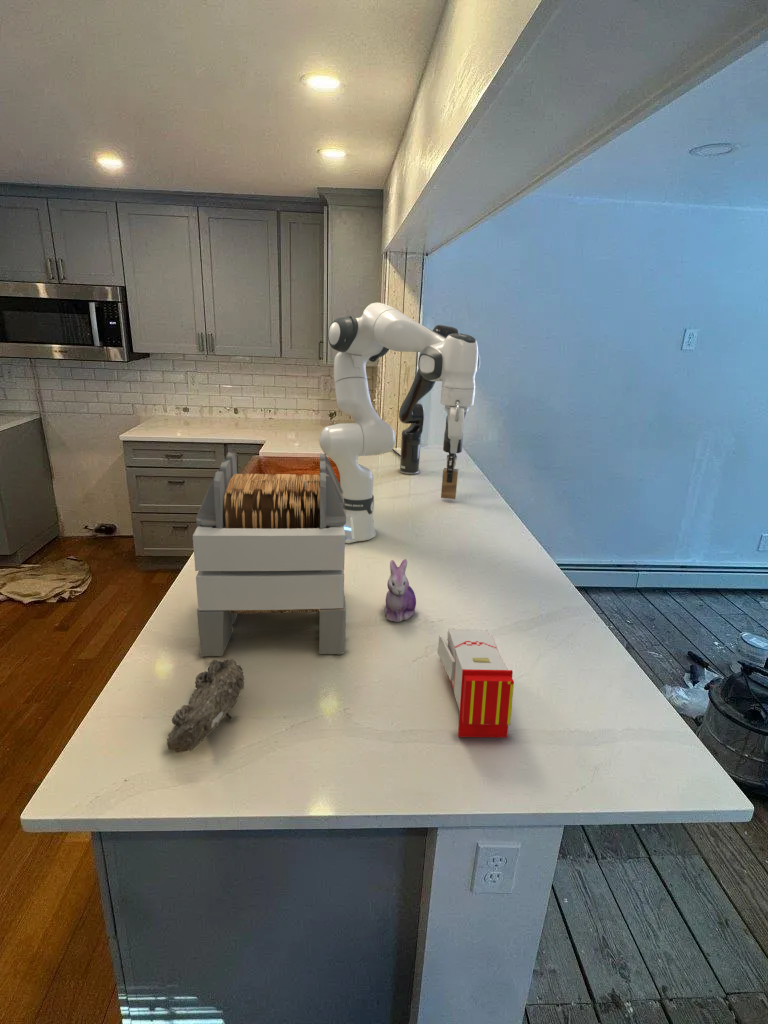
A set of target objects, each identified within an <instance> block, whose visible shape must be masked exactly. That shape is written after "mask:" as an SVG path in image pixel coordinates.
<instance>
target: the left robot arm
mask: <svg viewBox="0 0 768 1024" xmlns="http://www.w3.org/2000/svg"><path fill="white" fill-rule="evenodd" d="M327 340H328V344H329V346H330V347H331V348H332V349H333V350H334V351H336V352H337V353H336V355H335V356H334V358H333V361H334V362H333V382H334V391H335V399H336V406H337V407H338V409H339V410H340V411H341V412H342V413H344V414H346V415H348V416H349V417H351V418H352V419H353V421H354V422H348V423H346V422H344V423H343V422H342V423H334V424H331V425H327V426H324V427H323V428H322V430H321V432H320V434H319V439H318V441H319V446H320V449H321V451H322V452H323V454H326V456H327V458H330V459H331V460H332V462H334V464H335V465H336V467H337V470H338V473H339V484H340V486H341V489H342V491H343V496H344V503H345V511H346V523H345V524H344V530H345V544H352V543H357V542H365V541H368V540H372V539H373V538H375V537H376V535H377V532H376V528H375V523H374V513H373V512H374V509H375V496H374V474H373V472H372V471H371V469H369V468H368V467H366V466H364V465H362V464H359V462H358V459H359V457H371V456H380V455H385V454H388V453H390V452H391V451H393V450H392V449H394V447H395V445H396V432H395V430H394V428H393V427H392V426H391V425H390V424H389V423H387V422H386V421H385V420H383V419H382V417H380V415H379V414H378V413H377V411H376V410H375V408H374V405H373V404H372V400H371V395H370V389H369V388H370V387H369V382H368V381H369V380H368V374H367V363H368V361H370V362H371V363H375V362H376V361H378V360H379V358H382V357H384V356H385V355H386V354H387V353H388V352H389V351H393V352H403V353H419V355H418V361H417V366H418V368H417V369H419V371H420V374H421V375H422V377H423V378H424V379H426V380H429V381H436V382H442V383H441V392H440V404H441V405H442V406H444V411H446V414H447V415H446V417H447V418H448V438H449V439H450V445H451V446H450V453H454V454H456V455H457V454H458V453H457V447H458V442H459V440H461V439H462V436H463V437H464V426H465V425H464V424H465V418H464V412H466V413H468V412H469V407H473V406H474V405H475V396H476V395H475V394H476V381H475V379H476V376H477V375H478V373H479V371H480V369H481V364H482V361H481V355H480V353H479V346H478V341H477V339H476V338H475V337H474V336H473V335H469V334H467V333H461V332H459V333H452V334H450V335H448V336H447V338H446V337H444V336H442V335H440V334H438V333H436V332H434V331H433V329H430V328H428V327H426V326H424V325H423V324H422V323H420V322H418V321H416V320H414V319H412V318H411V317H409V316H407V315H406V314H405V313H402V312H401V311H400V310H398V309H396V308H395V307H393V306H391V305H388V304H386V303H382V302H372V303H369V304H368V305H367V306H366V307H365V309H364V310H363V311H362V315H361V316H359V317H355V316H354V315H353V314H350V315H348V316H342V317H337V318H335V319H334V320H333V321H332V322H331V323H330V324H329V327H328V329H327Z"/></svg>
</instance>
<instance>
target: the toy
mask: <svg viewBox="0 0 768 1024" xmlns="http://www.w3.org/2000/svg"><path fill="white" fill-rule="evenodd" d="M446 640H447V643H446V641H445V639H444V636H443V635H442V634H439V637H438V646H437V656H438V657H439V659H440V661H441V663H442V666H443V668H444V670H445V672H446V674H447V677H448V679H449V681H450V684H451V687H452V690H453V693H454V697H455V701H456V705H457V708H458V711H459V714H458V715H459V716H458V730H457V731H458V732H457V737H458V738H508V731H509V726H510V725H511V717H512V707H513V697H514V696H513V695H514V684H515V680H514V679H513V673H514V671H513V670H512V669H508V667H507V665H506V662H505V661H504V659H503V658H502V655H501V653H500V651H499V649H498V647H497V643H496V639H495V637H494V635H493V634H491V632H490V631H489V629H467V628H466V629H465V628H463V629H461V628H460V629H459V628H448V630H447V639H446Z"/></svg>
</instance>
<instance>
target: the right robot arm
mask: <svg viewBox="0 0 768 1024" xmlns="http://www.w3.org/2000/svg"><path fill="white" fill-rule="evenodd" d="M432 331H434V332H436V333H438V334H440V335H442V336H444V337H446V338H447V336H448V335H450V334H452V333H460V332H459V329H458V328H456V327H454V326H448V325H443V324H436V325H435V326H434V327H433V329H432ZM436 382H437V381H429V380H426V379H424V378H423V377H422V375H421V374H420V371H419V368H417V372H416V373H415V375H414V379H413V381H412V384H411V386H410V388H409V390H408V393H407V394H406V396H405V398H404V399H403V401H402V403H401V406H400V407H399V411H398V419H399V421H400V422H401V423H402V424H406V425H407V424H410V425H409V426H408V427H406V428H405V429H403V430H402V431H401V440H400V453H399V452H398V451H396V450H395V449H394V448H393V449H392V450H391V451H393V452H394V453H395V454H396V455H397V456H398V457H400V458H399V459H400V460H399V473H400V474H403V475H417V474H419V473H420V460H421V457H420V455H421V445H422V443H421V441H422V434H423V430H424V423H425V408H424V405H423V404H422V403H419V401H420V400H422V399H423V398H424V397H425V396H427V395H428V394H429V393H430V392H431V390H432V389H433V388H434V386H435V384H436ZM466 414H467V412H464V419H465V417H466ZM463 442H464V435H463V436H462V439H461V440H459V442H458V447H457V453H456V454H454V453H450V446H451V445H450V439H449V438H448V418H447V416H446V417H445V429H444V435H443V446H442V447H443V448H442V449H443V451H444V452H445V453H448V454H447V455H446V466H445V468H447V482H448V483H452V478H453V473H454V472H453V470H454V469H456V465H457V459H458V455H457V454H460V453H462V451H463ZM449 469H452V471H450V470H449Z"/></svg>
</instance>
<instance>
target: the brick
mask: <svg viewBox="0 0 768 1024" xmlns="http://www.w3.org/2000/svg"><path fill="white" fill-rule="evenodd" d="M449 470H450V471H452V469H449ZM453 472H454V473H453V478H452V483H448V482H447V467H443V470H442V478H441V479H442V480H441V492H440V498H441V499H448V500H456V497H457V488H458V487H457V486H458V477H459V468H455V469H454V470H453Z"/></svg>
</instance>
